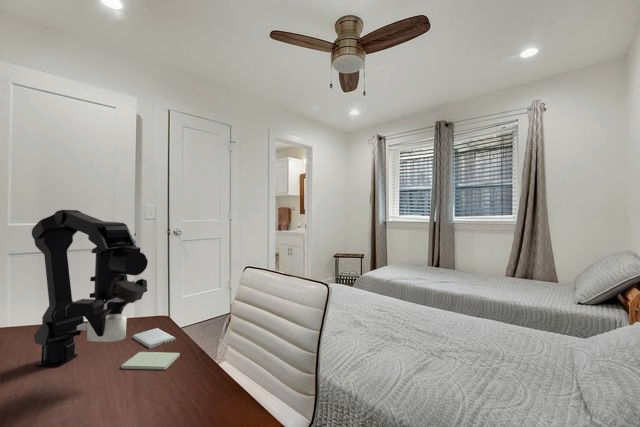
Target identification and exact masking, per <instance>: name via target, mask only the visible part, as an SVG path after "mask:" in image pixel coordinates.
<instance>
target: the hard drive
mask: <svg viewBox="0 0 640 427" xmlns="http://www.w3.org/2000/svg"><path fill="white" fill-rule="evenodd" d="M132 339H133V340H135V341H137V342H138V343H140V344H142V345H143V346H145V347H147V348H149V349H153V348H155V347H158V345H159V346H161V344H162V345H164V344H163V343H165V344H167V342H168V343H170V342H169V341H171V342H174V341H176V337H175V336H173V335H171V334H169V333H167V332H165V331H163V330H161V329H160V328H158V327H156V328H152V329H149V330H145V331H142V332H139V333H136V334H133V335H132ZM173 340H174V341H173Z"/></svg>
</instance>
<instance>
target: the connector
mask: <svg viewBox="0 0 640 427" xmlns="http://www.w3.org/2000/svg"><path fill="white" fill-rule="evenodd" d="M127 317H128V316H127V314H124V313H121V314H107V315H106V321H105V328H104V334H103V336H101V337H99V336H97V334H96V333H95V331H94V329H93V328H92V326H91V325H90V323H89V322H88V321H87V322H84V323H83V324H80V325H78V326H77V330H81V331H86V341H88V342H101V343H102V342H105V343H107V342H109V343H113V342H114V343H115V342H118V341H122V340H124V339H126V337H127Z"/></svg>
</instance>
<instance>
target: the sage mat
mask: <svg viewBox="0 0 640 427" xmlns="http://www.w3.org/2000/svg"><path fill="white" fill-rule="evenodd" d="M180 354H181V353H180V352H160V351H159V352H158V351H157V352H155V351H139V352H137V353H136V354H135V355H134V356H132V357H131V358H129V359H128V360H127V361H125V362H123V364H121V369H124V370H125V369H126V370H128V369H129V370H132V369H133V370H137V369H138V370H164V371H165V370H166V369H168V368H169V367H170V366H171V365H172V364H173V363H174V362H175V361H176V360H177V359H178V358H179V357H180Z"/></svg>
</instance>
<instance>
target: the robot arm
mask: <svg viewBox="0 0 640 427" xmlns="http://www.w3.org/2000/svg"><path fill="white" fill-rule="evenodd" d="M78 232H80V233H82V234H85V235H88V237H87V238H88V240H89V241H90V242H91V243H93V244H94V245H95V247H94V248H92V250H91V254H95V267H94V276H91V277H90V278H89V280H90V282H94V292H92V293H89V298H81V299H78V300H75V301H73V295H72V286H71V276H70V267H69V259H68V250H69V248H70V247H71V245H72V243H73V242H74V236H75V234H77V233H78ZM31 237H32V238H33V241H34V245H35V247H36V248H37V249H38V250H39V251H40V252H41V253H42V254H43V256H44V265H45V267H44V268H45V274H46V285H47V286H46V287H47V293H48V294H47V296H48V307H47V308H46V310H45V312H44V314H43V316H42V317H41V319H42V320H41V322H42V323H41V326H40V327H39V328H38V330H37V331H36V332H35V334H34V335H33V339H34V342H35V344H36V345H39V346H41V357H40V358H41V360H40V361H38V362H36V363H35V367H57V368H58V367H61V366H63V365H64V364H65V363H67V362H69V361H71V360H73V359H75V358H76V357H78V355H79V354H78V353H75V350H76V342H75V337H76V336H81V333H82V330H77V326H78V325H80V324H83V323H85V320H87V323H88V322H89V323H90V325H91V326H92V328H93V329H94V331H95V333H96V334H97V336H99V337H101V336H103V334H104V328H105V321H106V315H107V314H123V311H124V309H125V307H126V306H127V305H129V304H134V303H136V302H137V301H140V300H142V298H143V296H144V294H145V293H146V292H148V281H147V279H145V278H140V279H138V280H136V281H135V280H131V281H130V280H129V279H128V276H139V275H140V274H142V273H144V272H145V270H146V269H147V266H148V263H149V262H148V258H147V256H146V255H145V253H144V252H141V247H140V246H137V242H136V241H135V239H134V237H133V235H132V233H131V231H130V229H129V227H128V225H127V224H126V223H124V222H117V221H104V220H101V219H99V218H96V217H93V216H91V215H89V214H87V213H86V214H85V213H83V212H82V211H80V210H77V209H59V210H57V211H55V212H54V214H52V215H50V216H47V217H45V218H43V219H40V220H39V221H38V222H37V223H36V224H34V226H33V228H32V229H31Z"/></svg>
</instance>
